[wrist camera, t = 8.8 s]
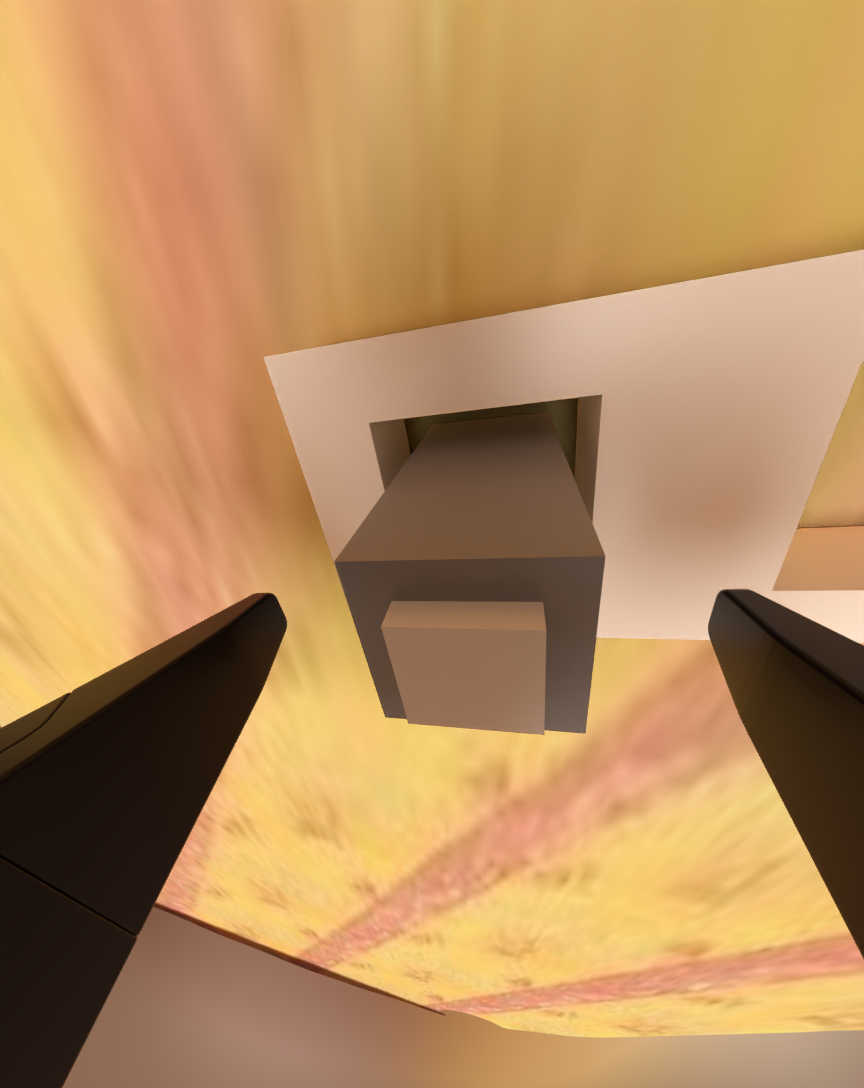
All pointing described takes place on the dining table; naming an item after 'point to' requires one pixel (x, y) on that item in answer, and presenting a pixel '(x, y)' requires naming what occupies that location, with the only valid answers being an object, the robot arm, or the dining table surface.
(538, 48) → the dining table surface
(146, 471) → the dining table surface
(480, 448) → the plug
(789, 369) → the socket strip
